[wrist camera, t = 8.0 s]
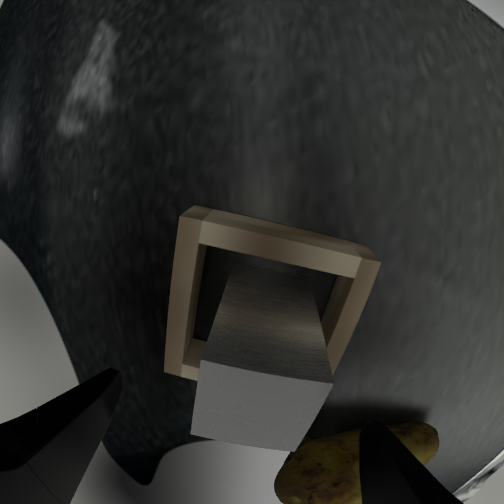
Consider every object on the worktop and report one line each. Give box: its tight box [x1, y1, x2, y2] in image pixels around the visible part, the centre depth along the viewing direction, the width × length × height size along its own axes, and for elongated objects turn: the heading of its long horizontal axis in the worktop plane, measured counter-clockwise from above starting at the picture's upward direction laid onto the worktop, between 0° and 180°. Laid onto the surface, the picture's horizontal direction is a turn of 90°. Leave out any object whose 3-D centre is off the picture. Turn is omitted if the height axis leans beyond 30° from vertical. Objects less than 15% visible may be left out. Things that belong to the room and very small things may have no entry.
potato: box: [274, 421, 439, 504], centre depth 16 cm, size 8×13×8 cm, turn 63°
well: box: [164, 205, 381, 381], centre depth 15 cm, size 9×9×2 cm
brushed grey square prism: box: [191, 261, 334, 452], centre depth 13 cm, size 4×4×8 cm
